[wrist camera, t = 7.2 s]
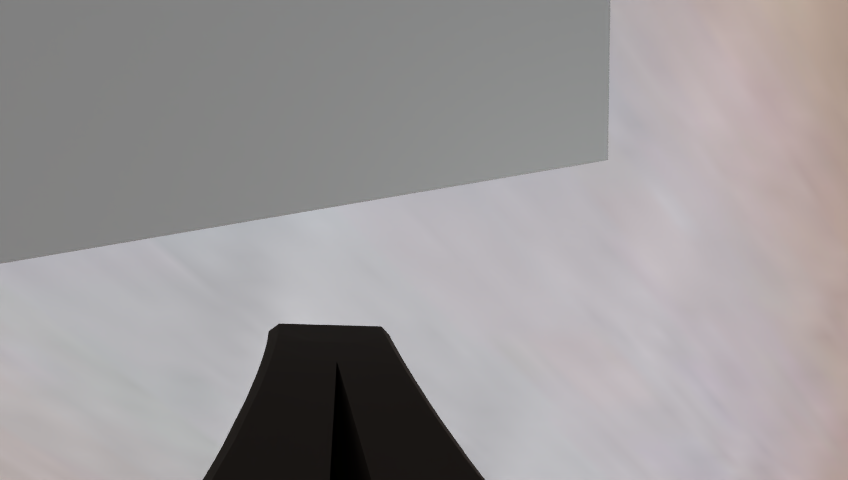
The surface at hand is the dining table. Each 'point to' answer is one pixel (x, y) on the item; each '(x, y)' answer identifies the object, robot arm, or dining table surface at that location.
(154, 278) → the dining table surface
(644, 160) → the dining table surface
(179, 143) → the grey flat slab
